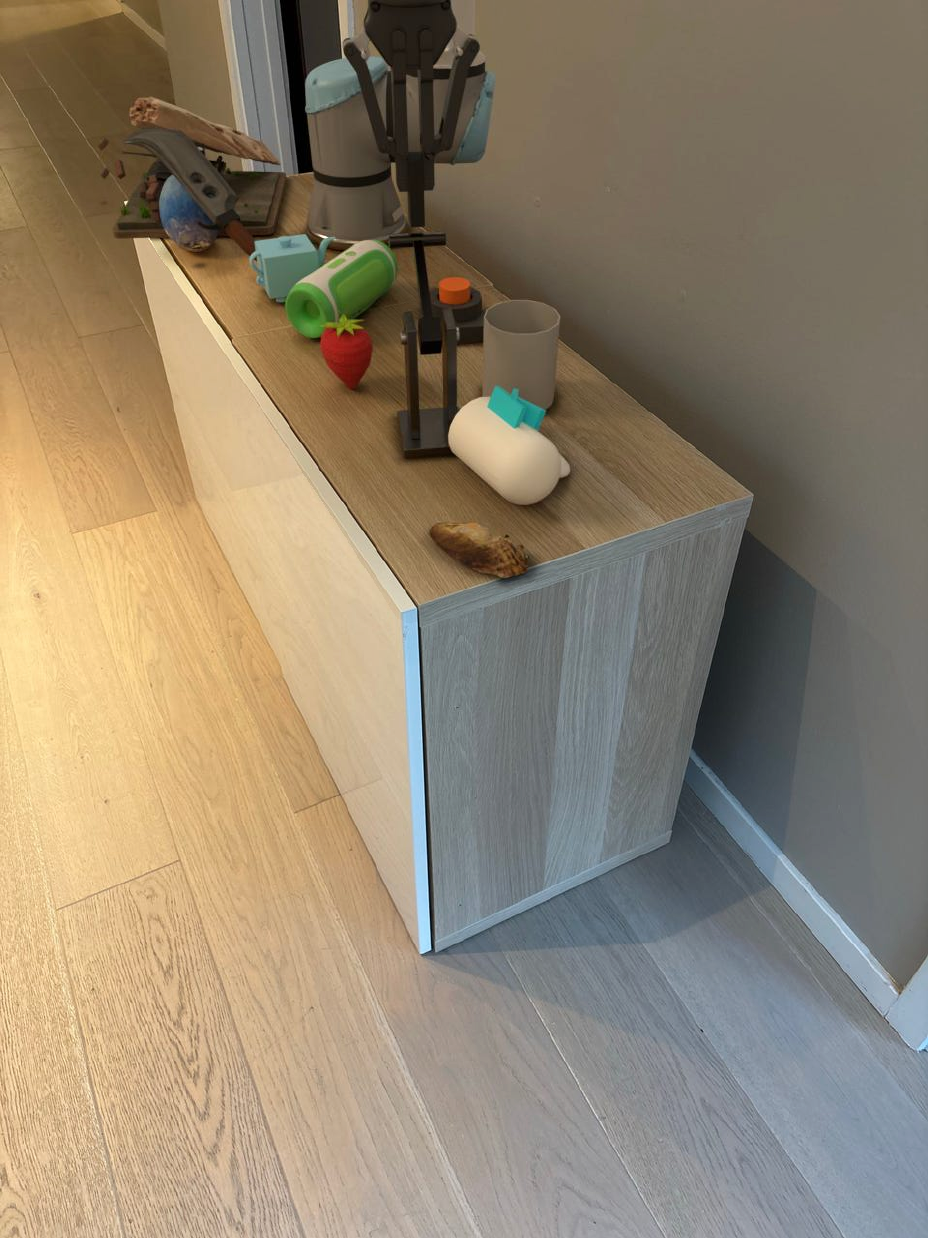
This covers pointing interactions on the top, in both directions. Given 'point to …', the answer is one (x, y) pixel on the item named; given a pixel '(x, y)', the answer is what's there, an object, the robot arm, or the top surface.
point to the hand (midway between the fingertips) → (416, 221)
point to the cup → (521, 350)
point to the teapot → (286, 262)
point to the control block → (463, 315)
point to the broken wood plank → (199, 130)
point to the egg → (184, 217)
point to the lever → (423, 286)
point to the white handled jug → (507, 446)
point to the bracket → (418, 426)
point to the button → (454, 290)
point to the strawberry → (346, 350)
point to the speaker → (341, 287)
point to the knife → (197, 168)
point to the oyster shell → (480, 548)
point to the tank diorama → (252, 187)
